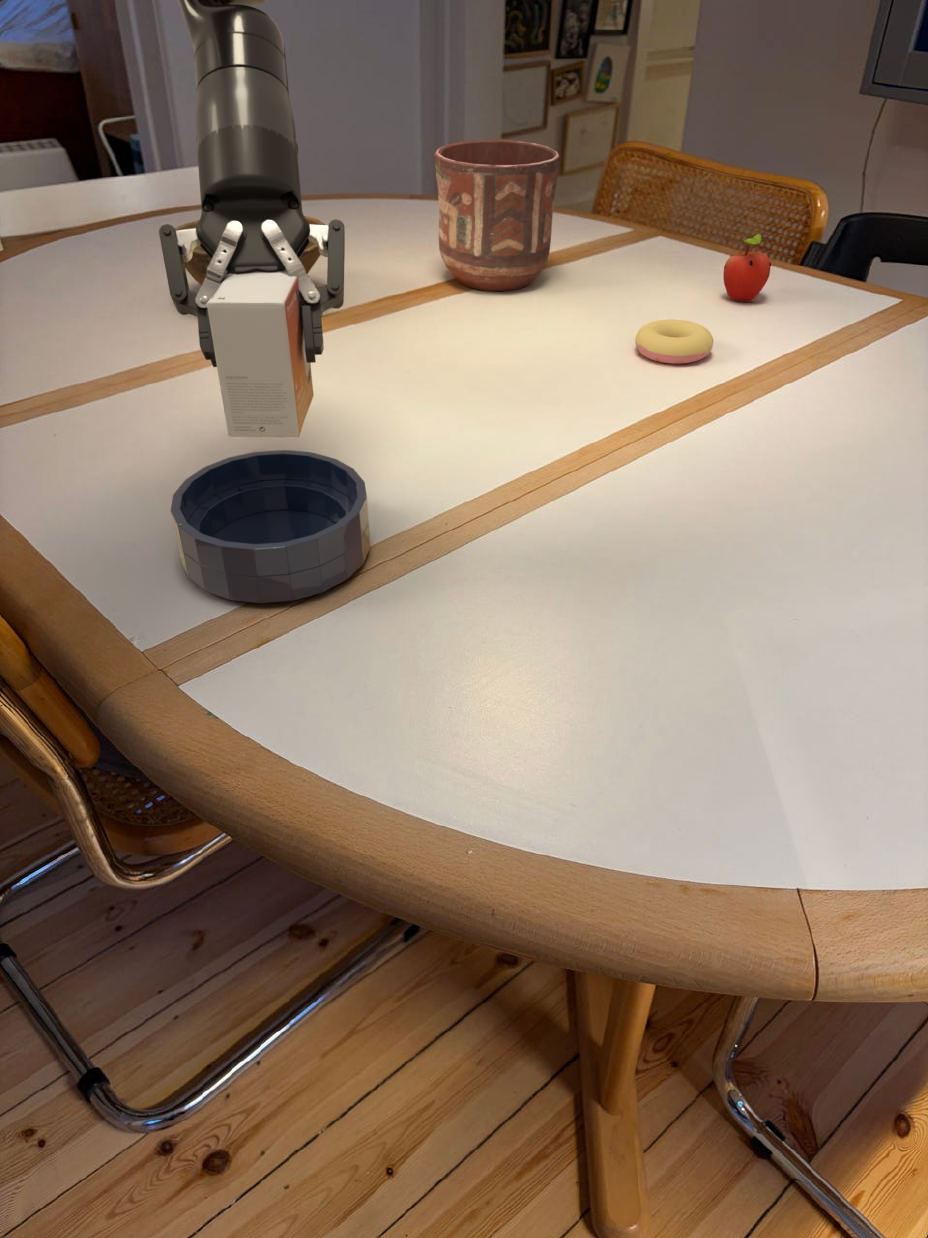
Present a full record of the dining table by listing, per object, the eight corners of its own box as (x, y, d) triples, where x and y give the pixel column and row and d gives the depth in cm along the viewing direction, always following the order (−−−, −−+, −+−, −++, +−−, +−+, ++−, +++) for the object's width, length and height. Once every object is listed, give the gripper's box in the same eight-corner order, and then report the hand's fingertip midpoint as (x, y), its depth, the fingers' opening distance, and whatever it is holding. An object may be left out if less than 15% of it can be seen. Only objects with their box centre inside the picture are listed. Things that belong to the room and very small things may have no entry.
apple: (709, 293, 141) (721, 223, 134) (750, 289, 142) (763, 220, 136) (733, 310, 135) (747, 239, 129) (776, 307, 136) (791, 235, 130)
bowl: (293, 268, 148) (287, 200, 142) (360, 312, 133) (356, 239, 126) (157, 292, 138) (144, 221, 132) (212, 342, 123) (200, 265, 117)
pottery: (490, 253, 155) (494, 133, 143) (573, 279, 145) (583, 152, 134) (412, 278, 144) (409, 150, 133) (496, 307, 135) (500, 172, 124)
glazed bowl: (175, 616, 77) (162, 556, 73) (190, 511, 90) (179, 456, 86) (376, 599, 79) (373, 540, 75) (362, 499, 92) (359, 444, 88)
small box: (299, 440, 71) (284, 303, 65) (226, 438, 71) (204, 301, 65) (315, 395, 77) (303, 265, 71) (248, 393, 78) (230, 264, 71)
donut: (715, 378, 121) (688, 341, 127) (729, 346, 118) (701, 310, 124) (645, 373, 118) (622, 335, 124) (658, 340, 115) (633, 303, 121)
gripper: (139, 122, 67) (154, 345, 65) (341, 118, 69) (361, 335, 67) (161, 183, 74) (175, 384, 73) (342, 178, 76) (360, 375, 74)
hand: (264, 360), depth 70 cm, fingers closed on small box, 6 cm apart
